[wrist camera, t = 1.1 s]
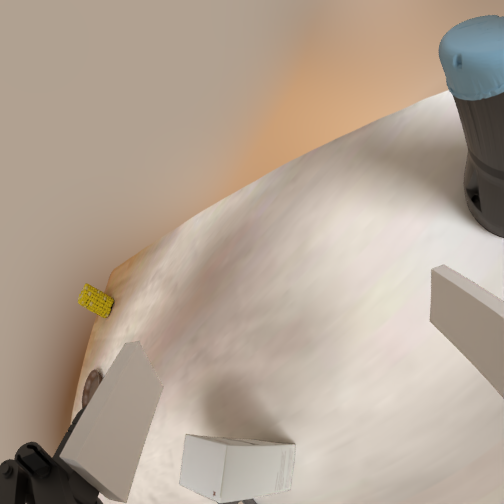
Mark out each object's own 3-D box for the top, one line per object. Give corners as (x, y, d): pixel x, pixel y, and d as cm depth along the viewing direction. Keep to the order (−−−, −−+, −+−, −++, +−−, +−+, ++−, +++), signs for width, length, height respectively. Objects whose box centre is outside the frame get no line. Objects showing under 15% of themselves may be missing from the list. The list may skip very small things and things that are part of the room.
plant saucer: (98, 366, 87) (91, 363, 86) (110, 381, 75) (102, 378, 73) (86, 405, 81) (79, 402, 79) (97, 425, 68) (88, 423, 66)
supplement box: (297, 443, 30) (227, 444, 23) (290, 491, 26) (219, 505, 19) (254, 437, 35) (184, 432, 27) (248, 481, 30) (176, 485, 23)
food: (109, 323, 101) (109, 311, 109) (116, 299, 99) (115, 288, 108) (74, 314, 93) (77, 301, 101) (80, 288, 91) (82, 277, 100)
